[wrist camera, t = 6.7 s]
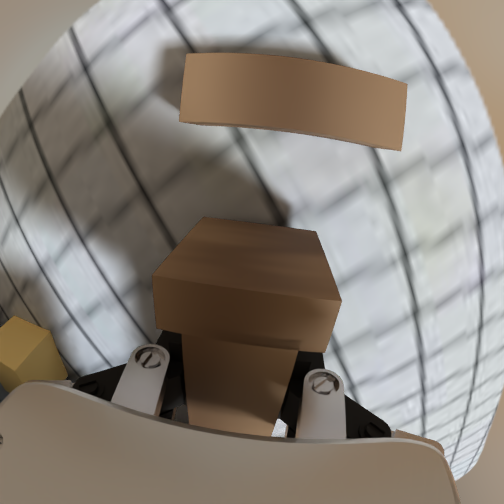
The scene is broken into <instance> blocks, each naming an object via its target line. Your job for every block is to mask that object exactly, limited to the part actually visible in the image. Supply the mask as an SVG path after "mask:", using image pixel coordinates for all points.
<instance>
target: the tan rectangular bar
mask: <svg viewBox="0 0 504 504" xmlns="http://www.w3.org/2000/svg"><path fill="white" fill-rule="evenodd" d="M406 99H407V84H406V83H403V82H400V81H397V80H394V79H390V78H387V77H384V76H380V75H377V74H373V73H370V72H366V71H362V70H358V69H354V68H350V67H345V66H341V65H336V64H331V63H325V62H320V61H314V60H308V59H301V58H293V57H285V56H275V55H264V54H248V53H190V54H186V61H185V69H184V77H183V85H182V94H181V104H180V115H179V122H184V123H190V124H196V125H206V126H227V127H242V128H254V129H264V130H274V131H282V132H290V133H298V134H305V135H311V136H317V137H324V138H329V139H335V140H340V141H345V142H350V143H355V144H360V145H365V146H369V147H373V148H381V149H389V150H396V151H401V148H402V140H403V132H404V123H405V112H406Z"/></svg>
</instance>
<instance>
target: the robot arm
mask: <svg viewBox="0 0 504 504" xmlns="http://www.w3.org/2000/svg"><path fill="white" fill-rule="evenodd" d="M183 404H185V405H187V399H186V389H185V377H184V365H183V350H182V334H181V333H176V332H171V331H166V330H163V332H162V334H161V335H160V337H159V339H158V341H157V343H156V344H146V345H142V346H139V347H137V348H136V349H135V350H134V351H133V352H132V354H131V356H130V358H129V360H128V362H127V363H126V364H123V365H120V366H116V367H113V368H110V369H107V370H103V371H100V372H96V373H93V374H89V375H86V376H83V377H81V378H79V379H78V380H77V381H76V382H75V383H72V382H71V380H29V381H27V382H25V383H23V384H21V385H19V386H18V387H16V388H15V389H14V390H13V391H12V392H10V393H9V394H8V396H7V397H6V398H5V399H4V400H3V401H2V402H1V403H0V504H461V502H460V498H459V494H458V490H457V487H456V483H455V480H454V477H453V474H452V472H451V469H450V467H449V465H448V463H447V460H446V459H445V457H444V449H443V447H442V445H441V444H440V443H438V442H436V441H434V440H431V439H427V438H424V437H420V436H417V435H413V434H410V433H407V432H404V431H401V430H397V429H396V430H395V431H391V429H390V427H389V426H388V424H387V423H385V422H384V421H383V420H382V419H380V418H378V417H377V416H375V415H374V414H372V413H371V412H369V411H368V410H366V409H365V408H364V407H362V406H361V405H359V404H358V403H356V402H355V401H353V400H352V399H350V398H349V397H347V396H346V395H345V394H344V385H343V381H342V379H341V378H340V376H338V375H337V374H336V373H334V372H332V371H330V370H326V369H325V366H324V360H323V354H322V353H320V352H308V351H298V354H297V357H296V361H295V364H294V367H293V371H292V374H291V377H290V381H289V384H288V387H287V390H286V393H285V396H284V400H283V403H282V406H281V409H280V412H279V415H278V418H277V419H281V420H282V421H283V422H284V423H286V424H287V426H286V431H285V438H284V437H271V436H260V435H251V434H243V433H236V432H229V431H223V430H217V429H211V428H206V427H201V426H196V425H191V424H186V423H182V422H178V421H174V419H175V415H176V407H178V406H181V405H183Z"/></svg>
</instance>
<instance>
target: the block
mask: <svg viewBox="0 0 504 504" xmlns="http://www.w3.org/2000/svg"><path fill="white" fill-rule="evenodd" d="M67 376H68V373H67V371H66V369H65V367H64V364H63V362H62V360H61V357H60V355H59V353H58V350H57V348H56V345H55V342H54V340H53V337H52V334H51V332H50V331H49V330H46V329H44V328H41V327H39V326H37V325H34V324H32V323H30V322H27V321H25V320H23V319H21V318H19V317H17V316H15V315H14V316H13V317H12V318H11V319H9V320H8V321H7V322H6V323H5V324H4V325H3V326H2V327H1V328H0V383H1V384H2V386H3V387H4V389H5V390H6V391H7V392H9V393H10V392H12V391H13V390H14V389H15V388H16V387H18V386H19V385H21V384H23V383H25V382H27V381H29V380H65V379H66V378H67Z"/></svg>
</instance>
